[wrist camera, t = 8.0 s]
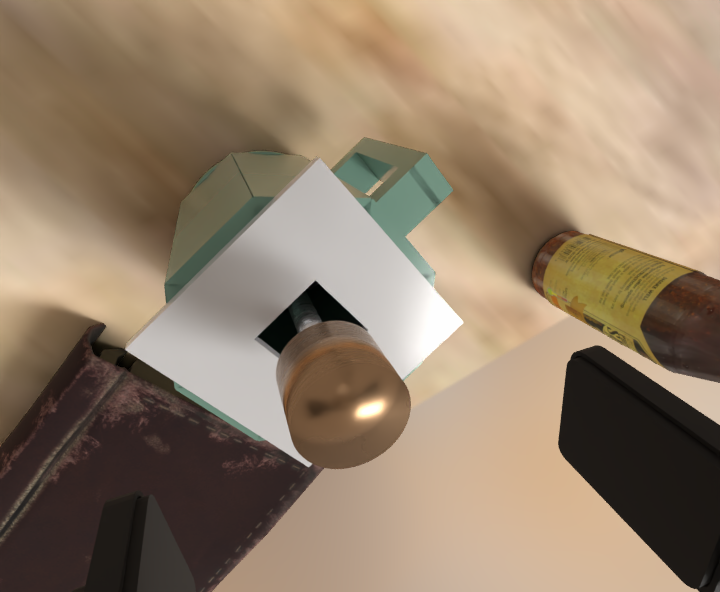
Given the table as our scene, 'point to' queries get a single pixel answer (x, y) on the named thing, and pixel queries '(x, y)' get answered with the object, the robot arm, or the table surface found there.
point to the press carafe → (293, 274)
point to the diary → (132, 473)
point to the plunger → (338, 390)
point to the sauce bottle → (635, 300)
